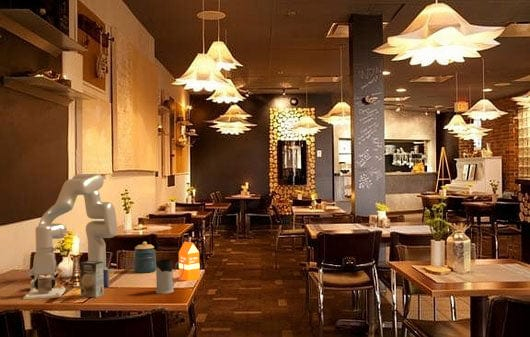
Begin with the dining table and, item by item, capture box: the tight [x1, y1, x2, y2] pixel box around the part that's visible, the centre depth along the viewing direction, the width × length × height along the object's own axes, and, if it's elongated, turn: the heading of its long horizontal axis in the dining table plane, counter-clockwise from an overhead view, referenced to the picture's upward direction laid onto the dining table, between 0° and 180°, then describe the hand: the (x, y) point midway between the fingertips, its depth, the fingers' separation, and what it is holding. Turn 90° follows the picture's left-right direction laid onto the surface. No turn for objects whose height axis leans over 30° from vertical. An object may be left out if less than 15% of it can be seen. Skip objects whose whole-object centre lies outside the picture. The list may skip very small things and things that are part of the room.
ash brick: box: [29, 277, 40, 291], centre depth 271 cm, size 6×8×5 cm
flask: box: [103, 268, 111, 288], centre depth 274 cm, size 9×3×11 cm, turn 68°
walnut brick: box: [38, 276, 53, 292], centre depth 258 cm, size 6×8×5 cm
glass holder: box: [155, 258, 184, 295], centre depth 260 cm, size 9×14×15 cm, turn 113°
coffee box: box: [79, 260, 105, 298], centre depth 253 cm, size 9×6×16 cm
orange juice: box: [178, 241, 201, 282], centre depth 288 cm, size 8×9×20 cm
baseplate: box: [22, 286, 66, 300], centre depth 258 cm, size 16×16×2 cm
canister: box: [132, 241, 157, 274], centre depth 314 cm, size 13×13×18 cm
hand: (45, 287), depth 258 cm, fingers closed on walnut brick, 6 cm apart
